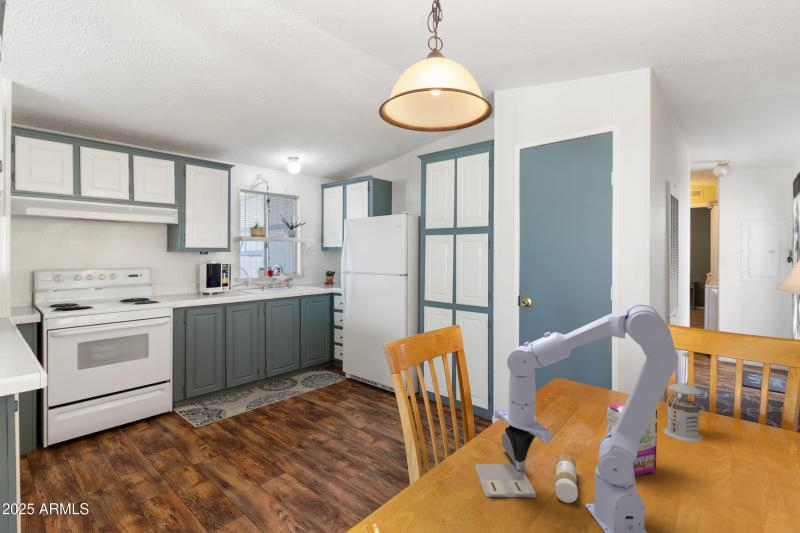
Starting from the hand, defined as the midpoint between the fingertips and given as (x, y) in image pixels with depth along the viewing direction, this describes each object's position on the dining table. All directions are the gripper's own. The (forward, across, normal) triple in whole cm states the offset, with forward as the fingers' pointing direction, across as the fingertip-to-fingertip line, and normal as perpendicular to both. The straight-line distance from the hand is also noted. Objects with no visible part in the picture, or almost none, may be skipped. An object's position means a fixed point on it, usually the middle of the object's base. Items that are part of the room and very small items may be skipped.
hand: (520, 459), depth 91 cm
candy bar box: (+8, -8, -31) cm, 33 cm away
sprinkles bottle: (+5, 0, -17) cm, 17 cm away
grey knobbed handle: (+6, +9, -8) cm, 14 cm away
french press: (+8, -5, -64) cm, 65 cm away
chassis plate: (+7, +5, 0) cm, 9 cm away
